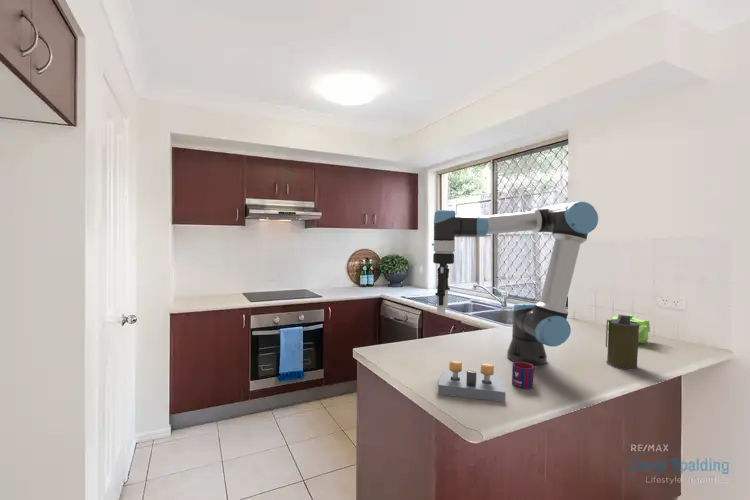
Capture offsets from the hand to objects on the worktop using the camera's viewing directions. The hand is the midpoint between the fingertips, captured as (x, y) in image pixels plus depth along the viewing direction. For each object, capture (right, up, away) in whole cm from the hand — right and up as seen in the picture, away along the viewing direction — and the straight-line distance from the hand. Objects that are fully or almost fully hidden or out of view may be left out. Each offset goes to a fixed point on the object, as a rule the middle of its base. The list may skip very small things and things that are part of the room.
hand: (442, 310), depth 134 cm
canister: (+74, -24, +12) cm, 79 cm away
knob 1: (+2, -20, -13) cm, 24 cm away
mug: (+27, -24, -9) cm, 37 cm away
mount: (+7, -24, -14) cm, 28 cm away
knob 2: (+12, -20, -15) cm, 28 cm away
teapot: (+101, -23, +46) cm, 114 cm away
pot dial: (+6, -21, -18) cm, 28 cm away
